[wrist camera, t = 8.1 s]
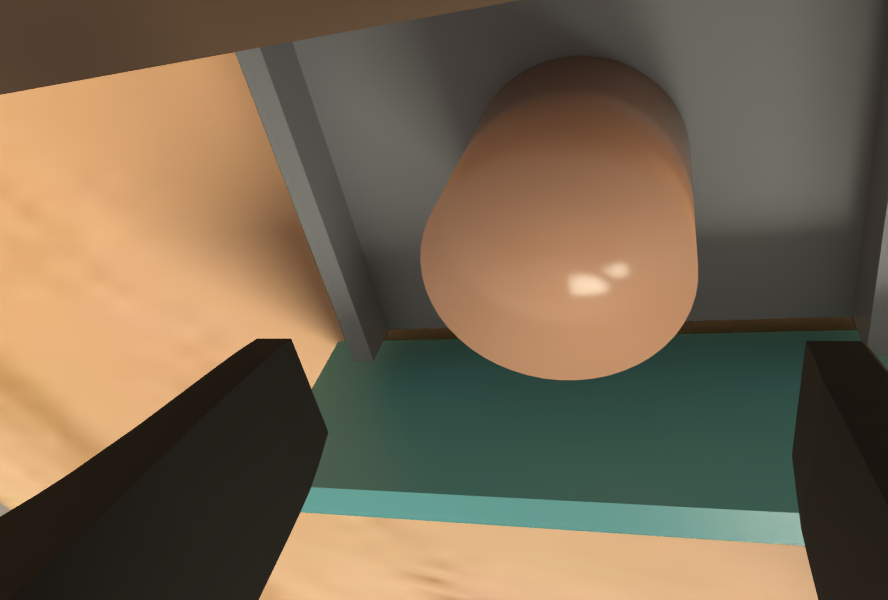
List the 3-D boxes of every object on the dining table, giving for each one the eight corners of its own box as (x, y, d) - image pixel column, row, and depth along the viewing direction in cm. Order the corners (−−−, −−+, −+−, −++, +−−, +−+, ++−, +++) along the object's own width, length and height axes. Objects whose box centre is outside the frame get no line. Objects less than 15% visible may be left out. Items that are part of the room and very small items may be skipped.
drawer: (937, 357, 17) (1032, 561, 13) (348, 363, 22) (272, 510, 18) (1100, -408, 10) (1466, -552, 5) (156, -131, 15) (-57, -88, 10)
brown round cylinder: (684, 254, 17) (690, 387, 13) (485, 252, 18) (441, 373, 14) (696, 47, 14) (708, 144, 10) (460, 64, 15) (398, 154, 12)
